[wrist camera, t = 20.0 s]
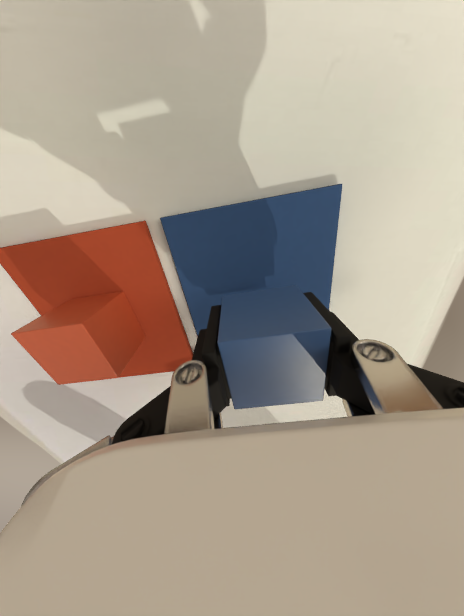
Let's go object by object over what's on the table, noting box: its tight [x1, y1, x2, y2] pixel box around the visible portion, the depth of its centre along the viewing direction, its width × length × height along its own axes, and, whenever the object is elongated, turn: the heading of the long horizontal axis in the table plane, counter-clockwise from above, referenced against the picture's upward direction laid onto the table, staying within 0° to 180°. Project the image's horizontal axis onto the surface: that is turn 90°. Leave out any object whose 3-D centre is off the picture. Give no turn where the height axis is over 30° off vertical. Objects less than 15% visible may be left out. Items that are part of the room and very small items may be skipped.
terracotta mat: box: [0, 221, 193, 378], centre depth 14 cm, size 12×10×1 cm
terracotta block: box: [11, 291, 146, 385], centre depth 12 cm, size 4×4×4 cm
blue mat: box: [160, 184, 342, 335], centre depth 13 cm, size 12×10×1 cm
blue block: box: [217, 285, 331, 409], centre depth 9 cm, size 4×4×4 cm
